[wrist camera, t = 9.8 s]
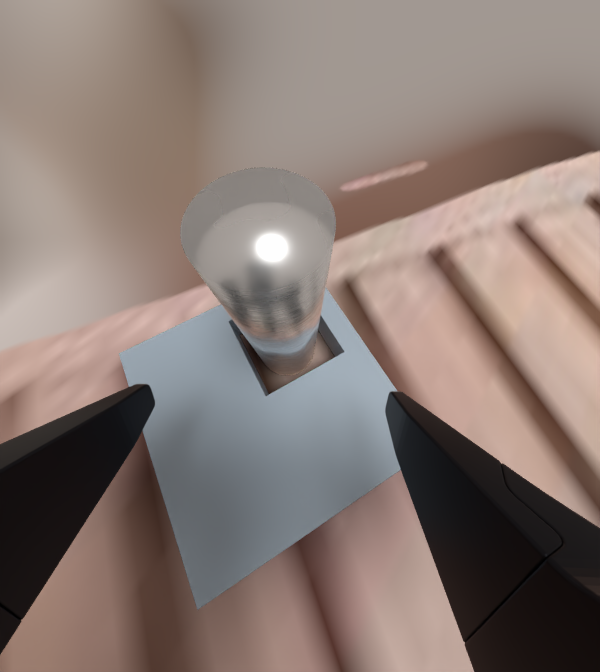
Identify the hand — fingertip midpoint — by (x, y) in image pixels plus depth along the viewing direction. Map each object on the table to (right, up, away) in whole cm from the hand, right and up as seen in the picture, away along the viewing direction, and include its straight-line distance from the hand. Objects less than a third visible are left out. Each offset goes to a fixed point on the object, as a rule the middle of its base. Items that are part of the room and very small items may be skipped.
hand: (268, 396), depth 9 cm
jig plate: (-1, -3, +9) cm, 9 cm away
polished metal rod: (0, +1, +10) cm, 10 cm away
